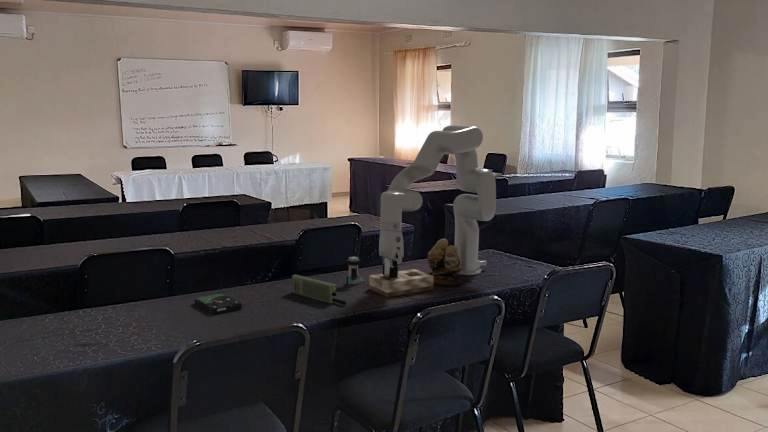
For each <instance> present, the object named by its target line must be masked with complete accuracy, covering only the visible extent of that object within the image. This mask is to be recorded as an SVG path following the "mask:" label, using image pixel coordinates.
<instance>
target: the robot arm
mask: <svg viewBox="0 0 768 432" xmlns="http://www.w3.org/2000/svg"><path fill="white" fill-rule="evenodd" d="M483 139H484V134H483V131H482V129H480V128H479V127H477V126H475V125H457V124H456V125H455V124H453V125H451V124H450V125H446V126H445V127H443V129H442V130H434V131H431V132H430V133H429V134H428V135H427V137H426V139H425V141H424V142H423V143H422V146H421V148H420V150H419V152H418V153H417V155H416V157H415V158H414V160H413V162H412V163H410V164H409V165H407V166H406V167H405V168H404V169H402V170H401V171H400V172H399V173H397V174H396V176H394V178H393V180H392V181H391V183H390V185H389V186H388V189H387V190H386V191H383V192H382V193H381V194H380V217H379V218H380V220H379V221H380V224H379V225H380V227H379V230H380V231H379V232H380V233H379V241H378V251H379V252H378V255H379V256H380V259H381V264H382V274H383V275H384V269H385V257H387V258H389V259H390V264H391V267H390V272H389V277H390V278H397V277H398V271H399V268H400V264H401V263H402V262H403V258H404V255H405V254H404V253H405V251H404V250H405V249H404V247H405V246H404V236H403V231H402V222H403V221H402V220H403V219H402V218H403V217H402V216H403V215H402V212H414V211H417V210H419V209H420V208H421V207H422V205H423V202H424V201H423V196H422V195H421V193H419V192H418V191H417V190H413V189H411V190H410V189H408V187H410V186H411V185H412V184H413V183H414V182H415V183H416V182H417V181H420V180H423V179H425V178H427V177H430V176H432V175H433V174H434V173H435V172H436V170H437V169H438V166H439V164H440V163H441V160H442V158H443V157H444V155H454V158H455V176H456V177H455V178H456V179H455V180H456V186H457V188H458V189H459V190H461V191H464V192H469V193H463V194H459V195H458V196H456V197H455V199H454V201H453V204H452V207H453V208H452V209H453V215H454V223H455V224H454V246H455V247H457V255H458V256H459V258H460V265H459V267H462V270H461V271H459V273H457V274H456V275H461V276H476V275H480V274H481V273H482V269H481V266H487V264H488V263H487V262H488V261H487V260H479V243H480V242H479V241H480V240H479V239H480V236H479V235H480V228H479V224H478V222H477V221H482V222H483V221H484V222H488V221H491V220H492V219H493V218H494V216H495V215H496V209H497V187H496V186H497V184H496V177H495V174H494V173H493V172H492V171H491V170H489V169H486V168H480V167H479V163H478V154H477V150H476V149H478V148H479V147H480V146H481V145H482V144H483ZM470 193H475V194H470ZM395 257H396V258H395ZM393 260H395V261H394V263H393Z"/></svg>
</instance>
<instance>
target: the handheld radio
mask: <svg viewBox="0 0 768 432" xmlns="http://www.w3.org/2000/svg"><path fill="white" fill-rule="evenodd" d="M291 284H292V285H291V287H292V291H291V292H292V293H293V294H295V295H299V296H303V297H306V298H310V299H313V300H317V301H321V302H324V303H327V302H328V304H334V302H335V303H337V304H340V305H343V306H346V305H347V301H346V300H342V299H338V298H336V296H337V293H336V290H337V288H336V286H337V284H335V283H332V282H328V281H325V280H324V281H323V280H319V279H315V278H310V277H307V276H303V275H299V274H293V275H291Z"/></svg>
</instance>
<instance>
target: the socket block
mask: <svg viewBox="0 0 768 432" xmlns="http://www.w3.org/2000/svg"><path fill="white" fill-rule="evenodd" d="M433 277H434V276H432V275H429V274H428V273H426V272H423V271H421V270H418V269H417V268H416V269H415V268H413V269H406V270H398V277H397V278H395V279H393V280H386V279H384V275H383V273H377V274H371V275H369V282H368V284H369V286H368V288H369V290H371V291H373V292H375V293H377V292H378V293H377V294H379V293H380V295H382V296H384V297H386V298H389V296H390V297H395V296H401V295H407V294H413V293H421V292H426V291H432V290H434V284H433Z"/></svg>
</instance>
